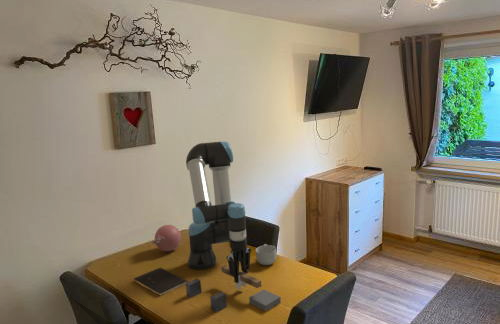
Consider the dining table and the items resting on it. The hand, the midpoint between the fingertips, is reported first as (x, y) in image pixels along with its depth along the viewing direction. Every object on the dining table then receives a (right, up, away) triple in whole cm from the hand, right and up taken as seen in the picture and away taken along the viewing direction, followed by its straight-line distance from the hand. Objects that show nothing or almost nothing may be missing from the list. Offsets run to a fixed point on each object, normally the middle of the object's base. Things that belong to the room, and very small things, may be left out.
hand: (241, 286), depth 175 cm
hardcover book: (-40, -3, +13) cm, 42 cm away
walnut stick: (0, +4, -1) cm, 4 cm away
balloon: (-45, +4, +50) cm, 68 cm away
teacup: (+13, +4, +30) cm, 33 cm away
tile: (+7, -2, -7) cm, 10 cm away
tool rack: (-15, -4, -7) cm, 17 cm away
